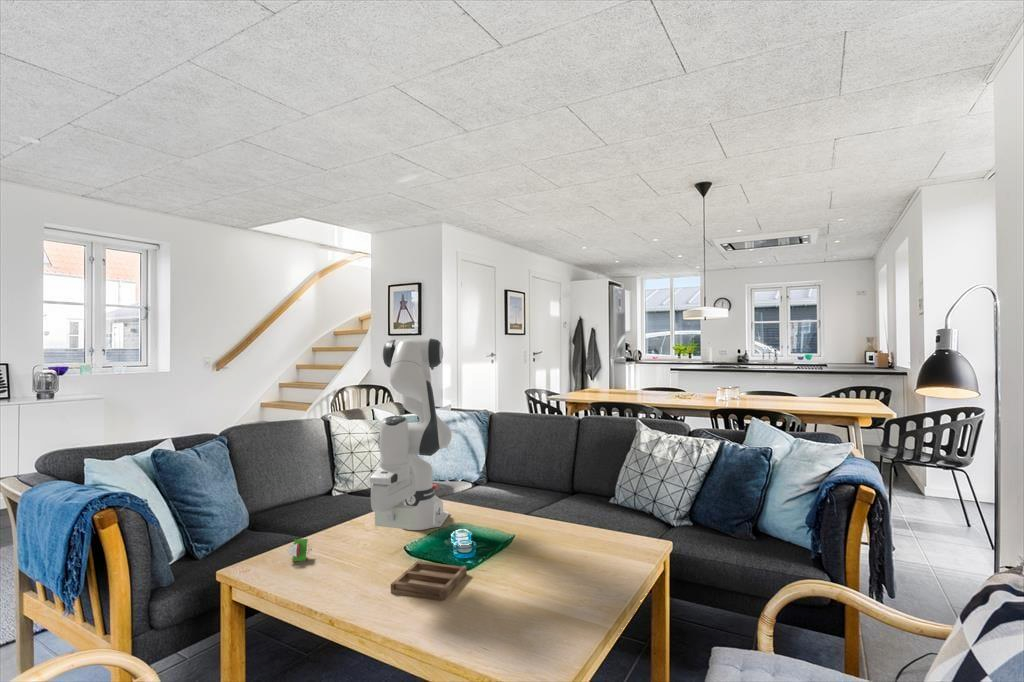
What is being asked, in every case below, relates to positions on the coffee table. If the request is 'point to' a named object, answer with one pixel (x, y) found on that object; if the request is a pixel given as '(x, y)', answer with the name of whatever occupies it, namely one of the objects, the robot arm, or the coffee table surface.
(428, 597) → the brown wooden flat frame
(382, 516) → the white rectangular block
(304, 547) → the geometric puzzle
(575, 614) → the coffee table surface
